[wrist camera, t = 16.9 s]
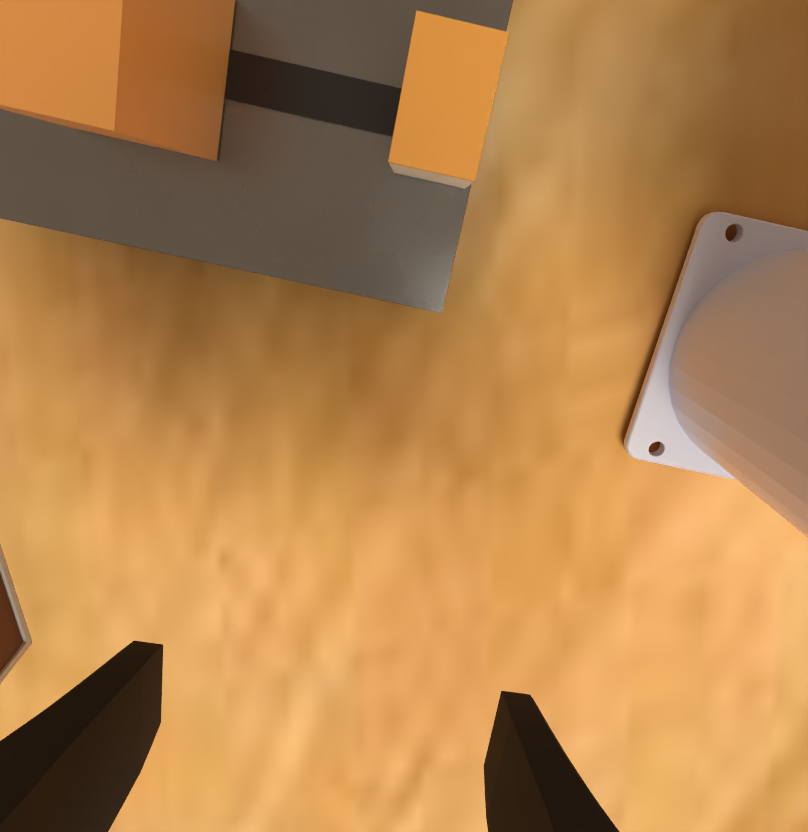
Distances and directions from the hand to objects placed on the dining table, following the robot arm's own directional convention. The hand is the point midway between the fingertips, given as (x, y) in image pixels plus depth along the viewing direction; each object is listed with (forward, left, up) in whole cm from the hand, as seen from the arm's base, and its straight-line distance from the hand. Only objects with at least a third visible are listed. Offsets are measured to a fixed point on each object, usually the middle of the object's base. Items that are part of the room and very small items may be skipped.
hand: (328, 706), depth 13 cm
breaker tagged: (0, -13, -8) cm, 15 cm away
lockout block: (+8, -12, -8) cm, 17 cm away
